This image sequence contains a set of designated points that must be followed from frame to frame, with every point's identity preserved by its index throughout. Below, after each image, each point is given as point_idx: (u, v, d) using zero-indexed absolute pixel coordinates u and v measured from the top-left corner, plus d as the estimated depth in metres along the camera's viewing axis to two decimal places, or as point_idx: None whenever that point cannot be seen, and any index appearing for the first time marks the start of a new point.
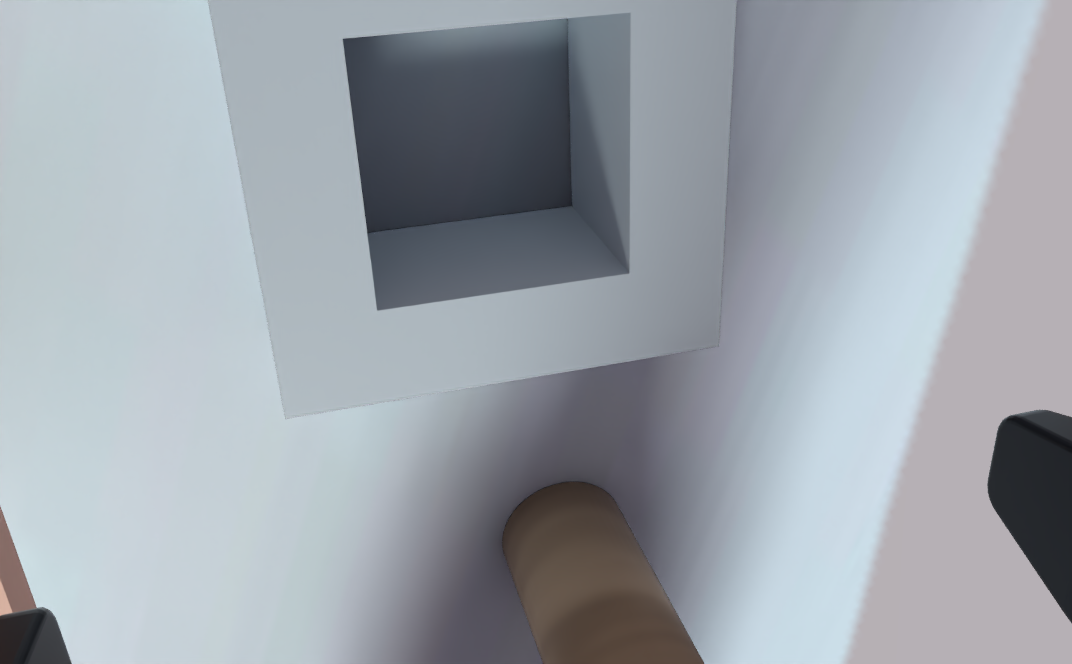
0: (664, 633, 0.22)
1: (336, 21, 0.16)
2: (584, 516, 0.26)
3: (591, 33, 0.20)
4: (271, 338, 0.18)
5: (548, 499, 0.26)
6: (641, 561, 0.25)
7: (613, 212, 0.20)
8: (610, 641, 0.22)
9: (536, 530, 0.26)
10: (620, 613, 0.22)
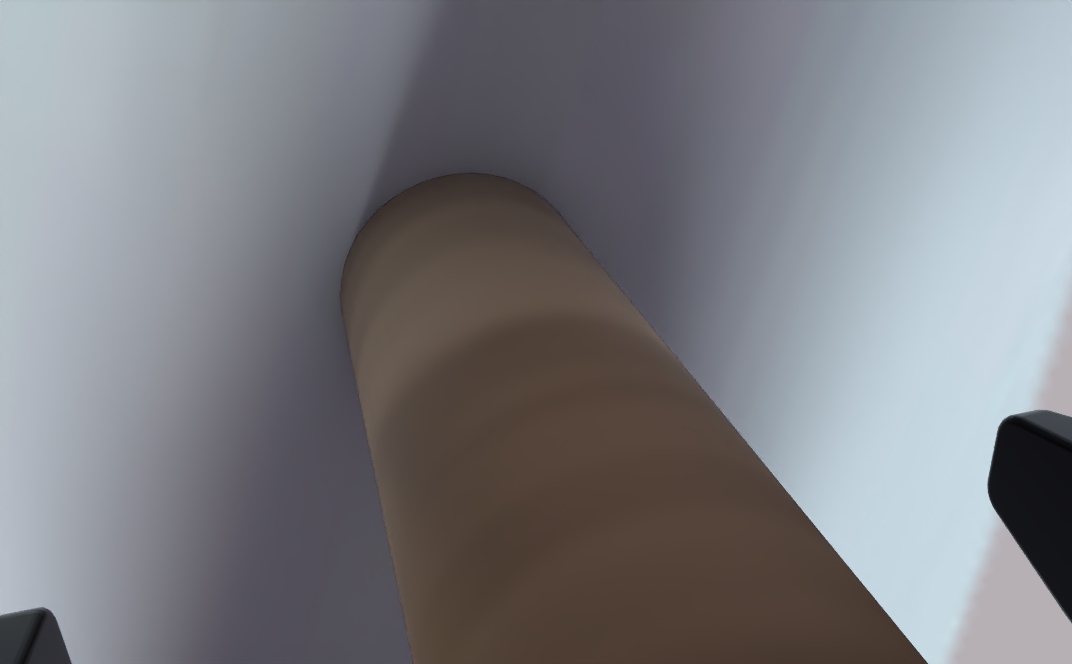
0: (666, 388, 0.08)
1: None
2: (494, 211, 0.12)
3: None
4: None
5: (424, 195, 0.13)
6: (614, 286, 0.11)
7: None
8: (522, 402, 0.08)
9: (392, 245, 0.12)
10: (553, 348, 0.09)
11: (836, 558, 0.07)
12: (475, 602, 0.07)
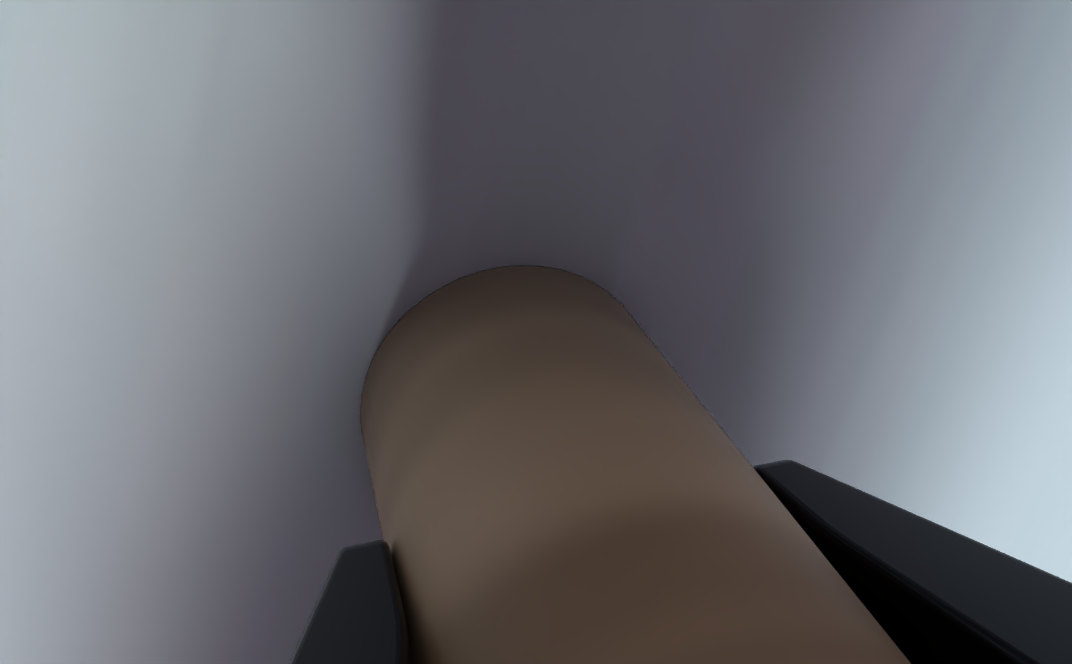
0: (844, 643, 0.06)
1: None
2: (558, 326, 0.09)
3: None
4: None
5: (466, 297, 0.10)
6: (721, 435, 0.08)
7: None
8: None
9: (429, 368, 0.10)
10: (673, 571, 0.06)
11: None
12: None
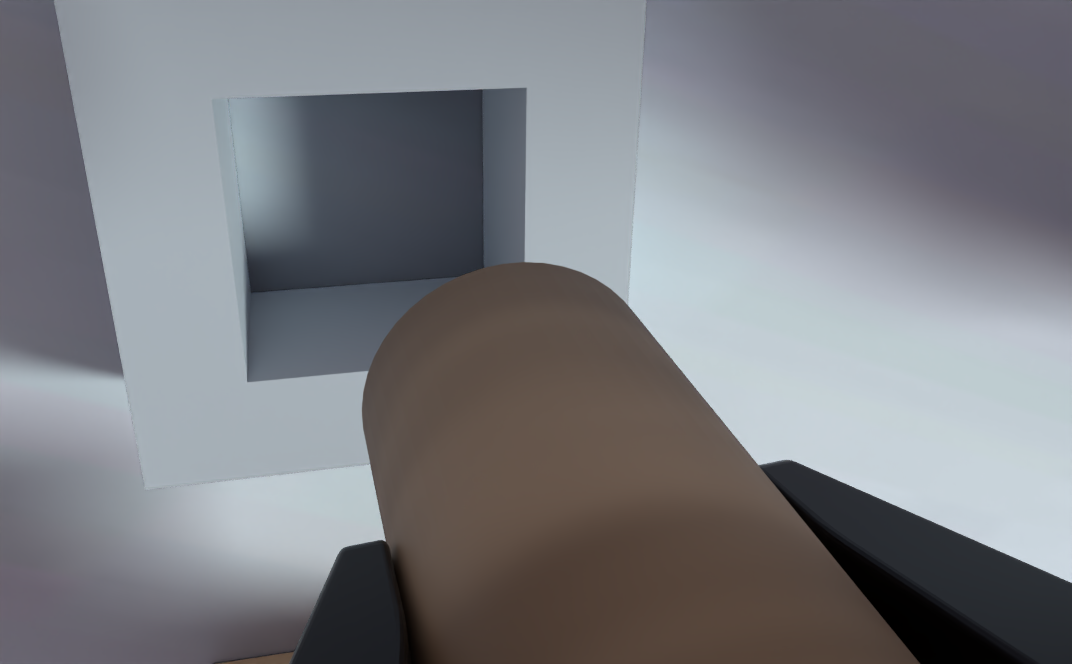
0: (850, 643, 0.06)
1: (231, 387, 0.18)
2: (560, 322, 0.09)
3: None
4: None
5: (468, 294, 0.10)
6: (725, 432, 0.08)
7: None
8: None
9: (431, 365, 0.09)
10: (679, 570, 0.06)
11: None
12: None
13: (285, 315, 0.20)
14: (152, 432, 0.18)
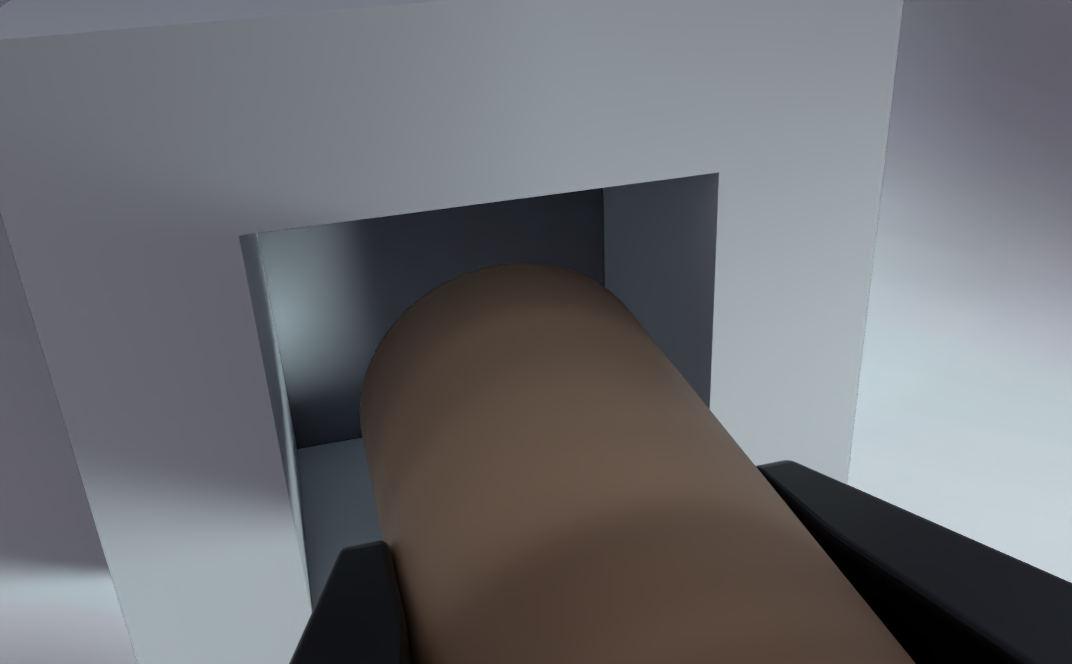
0: (847, 643, 0.06)
1: (290, 636, 0.12)
2: (559, 323, 0.09)
3: None
4: None
5: (466, 295, 0.10)
6: (723, 433, 0.08)
7: None
8: None
9: (429, 365, 0.09)
10: (676, 570, 0.06)
11: None
12: None
13: (350, 489, 0.14)
14: None
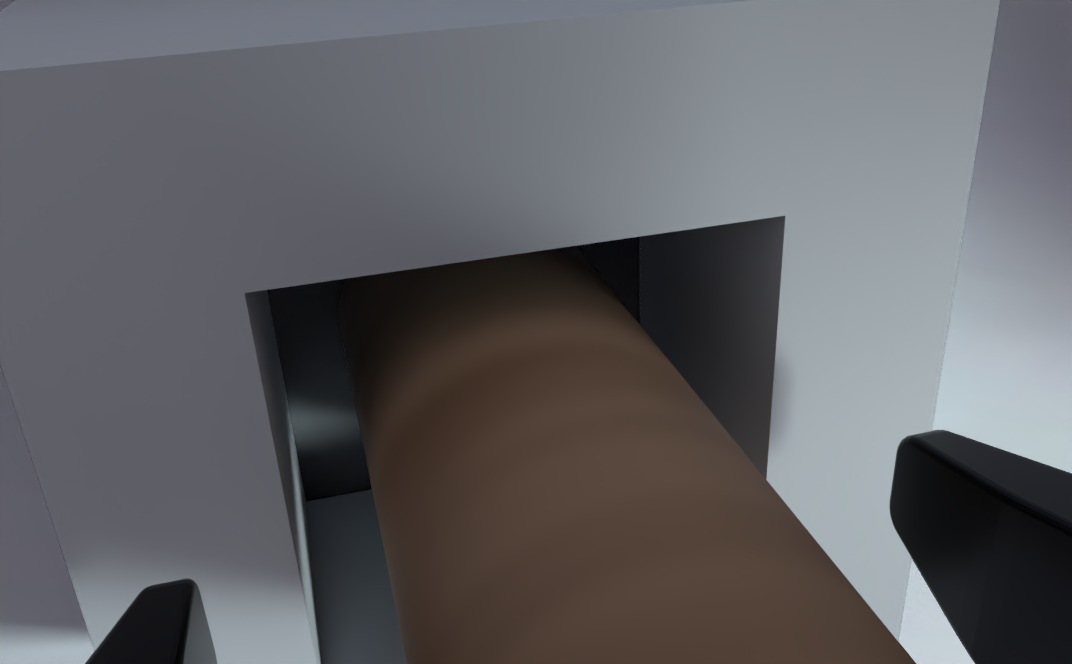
0: (681, 422, 0.08)
1: None
2: None
3: None
4: None
5: None
6: (623, 309, 0.11)
7: None
8: (530, 437, 0.08)
9: None
10: (562, 378, 0.08)
11: (864, 607, 0.07)
12: (482, 655, 0.06)
13: (365, 549, 0.13)
14: None
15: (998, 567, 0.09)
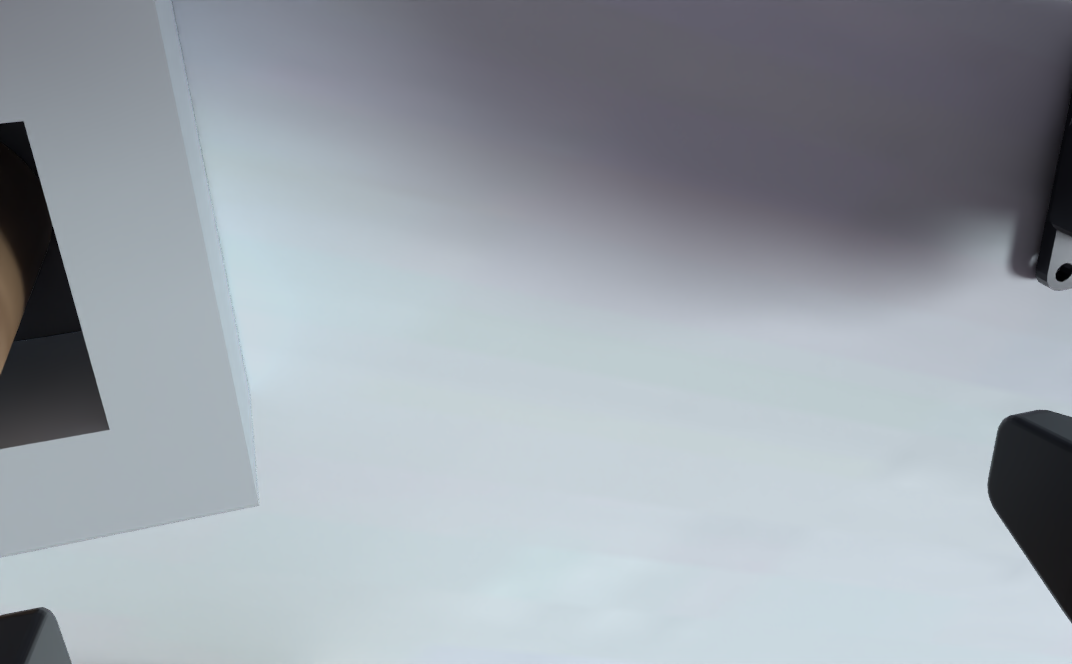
0: None
1: None
2: None
3: None
4: (151, 526, 0.17)
5: None
6: None
7: None
8: None
9: None
10: None
11: None
12: None
13: None
14: None
15: None
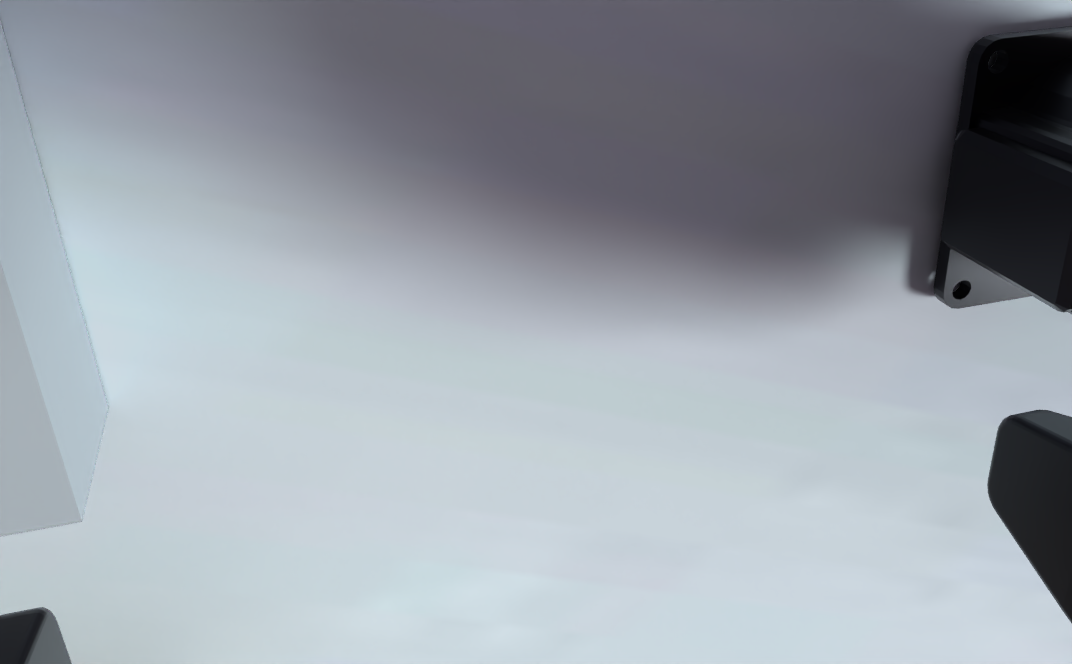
0: None
1: None
2: None
3: None
4: None
5: None
6: None
7: None
8: None
9: None
10: None
11: None
12: None
13: None
14: None
15: None
